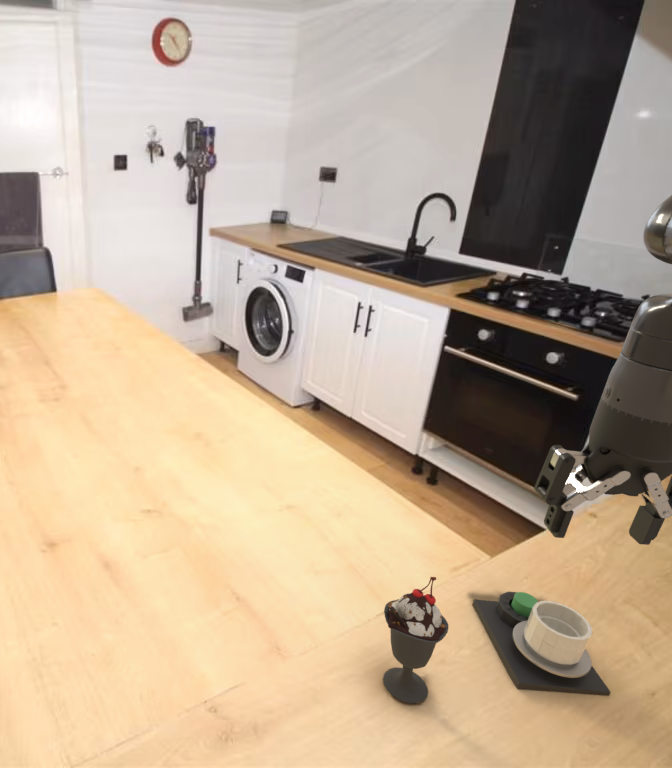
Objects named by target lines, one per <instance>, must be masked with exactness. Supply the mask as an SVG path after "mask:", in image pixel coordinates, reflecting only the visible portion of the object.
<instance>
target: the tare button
mask: <svg viewBox="0 0 672 768" xmlns="http://www.w3.org/2000/svg"><path fill="white" fill-rule="evenodd" d="M516 592H517V593H516V594H515V595H514V598H513V601H512V604H511V607H512V609H513V610H514V611H515V612H516V613H518V614H519V615H522V616H524V617H527V618H529V616H530V613H531V611H532V608H533V606H534V605H535V604H536V603H537V602H539V601H538V599H537V597H535V596H533V595H532V594H530V593H528V592H524V591H516Z"/></svg>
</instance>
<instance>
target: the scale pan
mask: <svg viewBox="0 0 672 768" xmlns="http://www.w3.org/2000/svg"><path fill="white" fill-rule="evenodd" d="M526 624H527V621H522V622H520V623H518V624H517V625H516V626H515V627H514V629H513V634H512V636H513V640H514V643H515V645H516V646H517V648H518V649H519V651H520V652H521V653H522V654H523V655H524V656H525V657H526V658H527V659H528V660H530V661H531V662H532V663H534V664H535V665H537V666H538V667H540V668H542V669H544V670H546V671H548V672H550V673H552V674H555V675H558V676H562V677H568V678H578V677H582V676H585V675H586V674H588V672H589V671H590V669H591V665H592V664H593V663H592V658H591V655H590V653H589V652H588V650H587V648H586V649H585V651H584V654H583V656H582V658H581V659H580V661H579V662H578V663H575V664H572V665H568V664H567V665H564V664H557V663H554V662H551V661H549V660H547V659H545V658H543V657H542V656H540V655H539V654H537V653H536V652H535V651H534V650H533V649H532V648H531V647H530V645H529V644H528V642H527V641H526V639H525V636H524V629H525V627H526ZM592 666H593V665H592Z"/></svg>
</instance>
